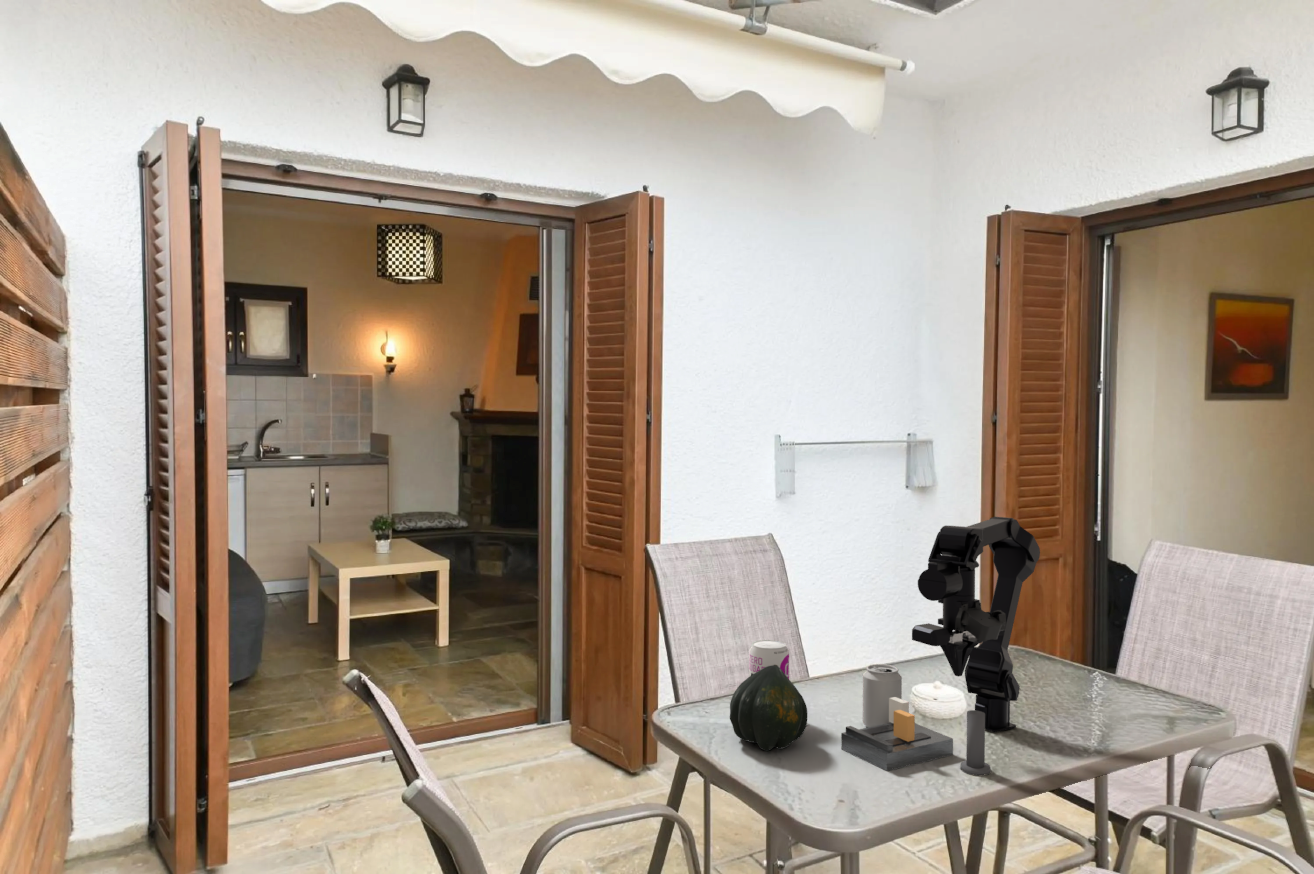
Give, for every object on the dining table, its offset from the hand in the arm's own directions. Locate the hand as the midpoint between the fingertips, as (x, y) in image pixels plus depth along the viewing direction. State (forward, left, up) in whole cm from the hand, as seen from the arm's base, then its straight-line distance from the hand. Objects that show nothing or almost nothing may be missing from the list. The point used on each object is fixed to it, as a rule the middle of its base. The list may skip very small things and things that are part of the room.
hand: (958, 675), depth 171 cm
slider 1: (+9, -6, -9) cm, 14 cm away
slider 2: (+14, 0, -9) cm, 17 cm away
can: (+6, -14, -13) cm, 20 cm away
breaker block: (+13, -2, -13) cm, 18 cm away
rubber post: (+7, +11, -13) cm, 18 cm away
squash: (+31, -18, -13) cm, 38 cm away
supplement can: (+22, -30, -13) cm, 39 cm away
